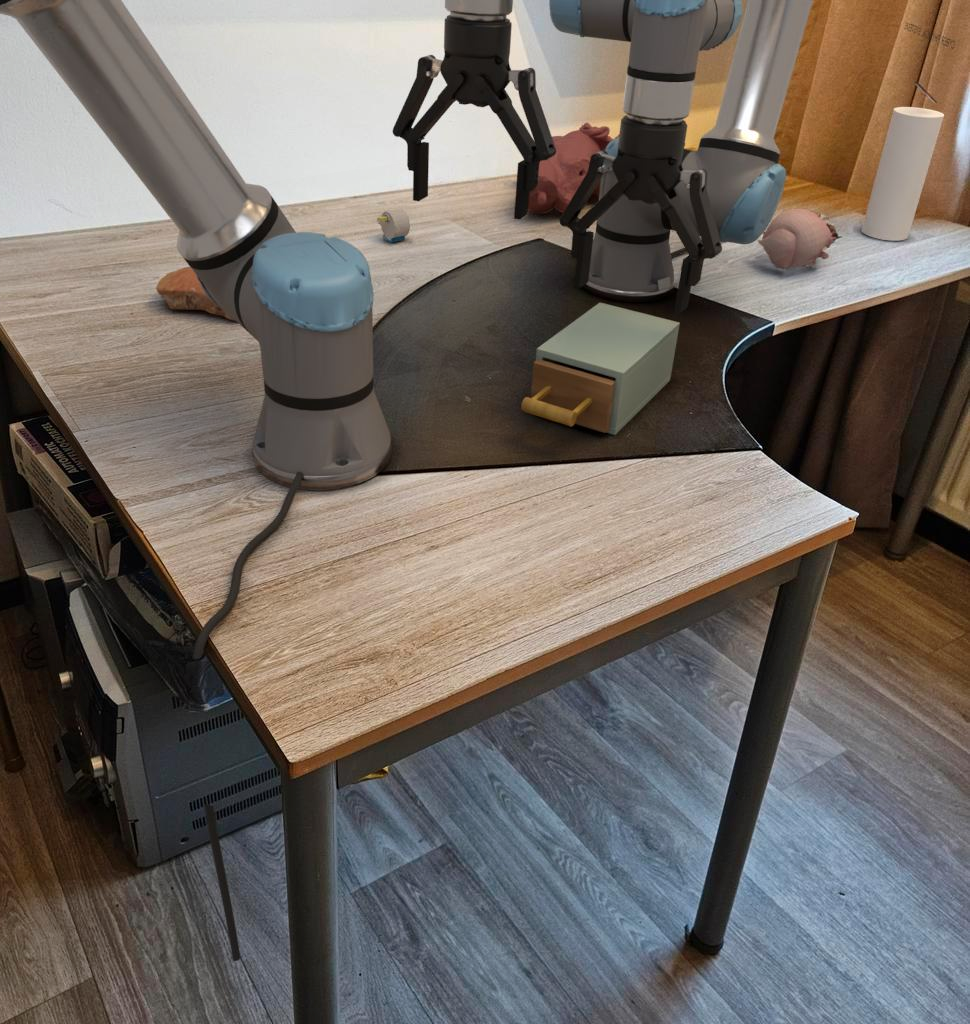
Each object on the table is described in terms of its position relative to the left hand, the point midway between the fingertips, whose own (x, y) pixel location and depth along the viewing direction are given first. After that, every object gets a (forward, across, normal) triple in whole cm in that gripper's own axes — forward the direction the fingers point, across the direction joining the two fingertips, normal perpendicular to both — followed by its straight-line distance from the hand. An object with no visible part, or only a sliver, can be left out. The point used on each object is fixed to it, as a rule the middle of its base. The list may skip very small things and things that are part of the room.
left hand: (469, 207), depth 119 cm
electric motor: (+20, +31, -38) cm, 53 cm away
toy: (+20, -35, -62) cm, 74 cm away
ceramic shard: (+21, +41, -1) cm, 46 cm away
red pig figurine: (+20, +10, -76) cm, 79 cm away
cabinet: (+20, -20, +1) cm, 29 cm away
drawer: (+20, -19, +6) cm, 28 cm away
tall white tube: (+19, -48, -90) cm, 104 cm away
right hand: (+9, -21, -4) cm, 23 cm away
